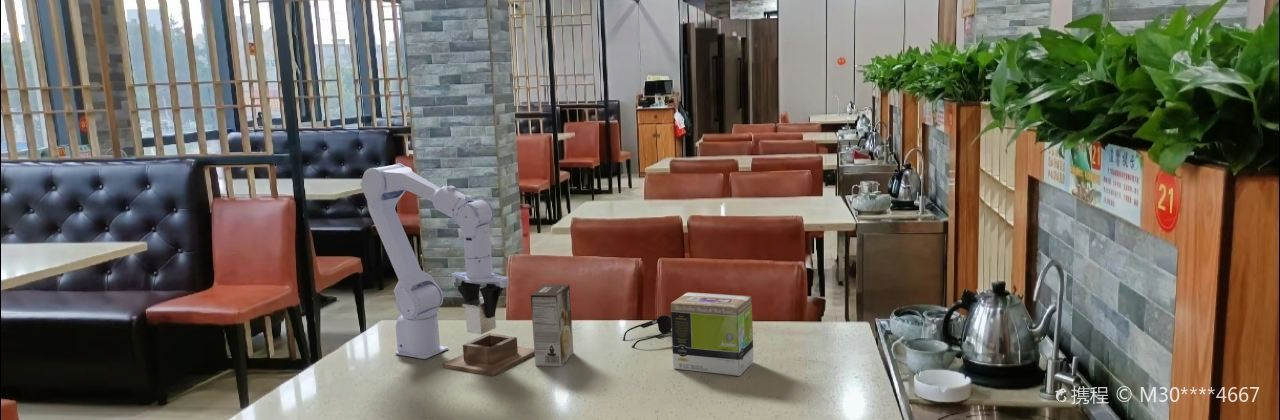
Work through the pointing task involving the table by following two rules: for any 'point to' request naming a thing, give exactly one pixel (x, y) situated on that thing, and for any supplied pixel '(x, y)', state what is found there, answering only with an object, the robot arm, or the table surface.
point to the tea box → (712, 333)
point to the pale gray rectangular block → (478, 317)
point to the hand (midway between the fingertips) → (482, 316)
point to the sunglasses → (663, 326)
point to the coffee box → (552, 325)
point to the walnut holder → (490, 355)
